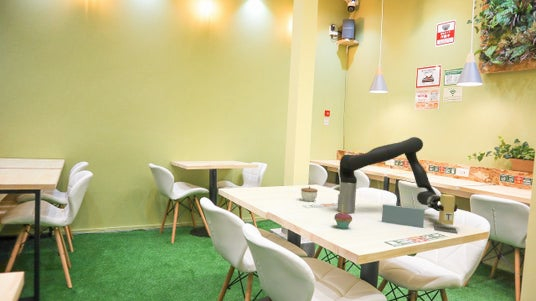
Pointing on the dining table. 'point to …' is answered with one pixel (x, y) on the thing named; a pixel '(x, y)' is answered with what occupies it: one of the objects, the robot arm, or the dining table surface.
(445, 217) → the letter block
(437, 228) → the mat
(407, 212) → the screen
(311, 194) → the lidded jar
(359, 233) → the dining table surface
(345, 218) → the cupcake
